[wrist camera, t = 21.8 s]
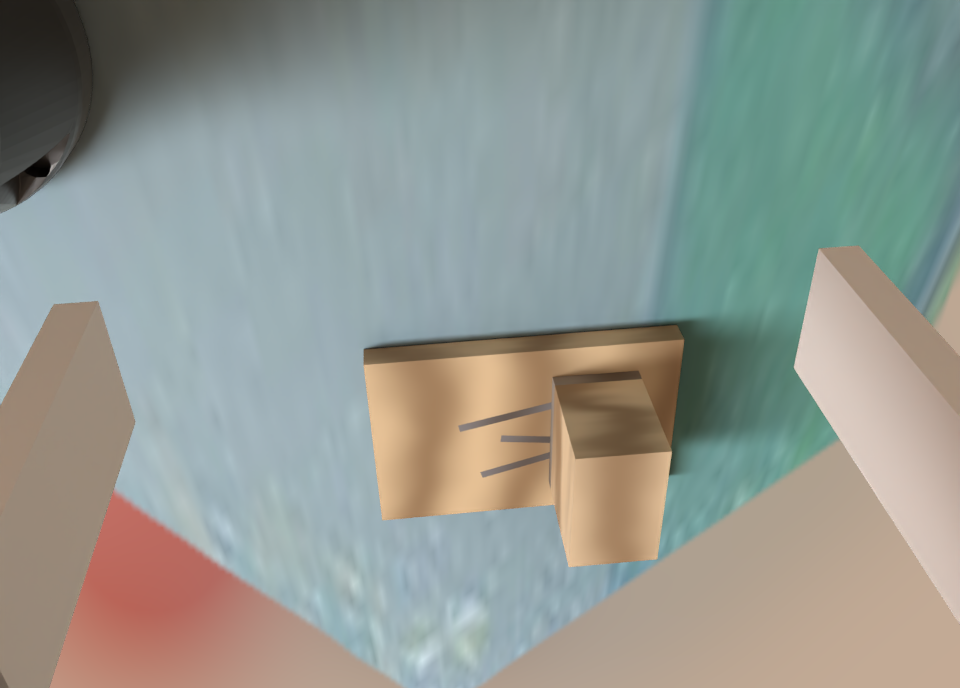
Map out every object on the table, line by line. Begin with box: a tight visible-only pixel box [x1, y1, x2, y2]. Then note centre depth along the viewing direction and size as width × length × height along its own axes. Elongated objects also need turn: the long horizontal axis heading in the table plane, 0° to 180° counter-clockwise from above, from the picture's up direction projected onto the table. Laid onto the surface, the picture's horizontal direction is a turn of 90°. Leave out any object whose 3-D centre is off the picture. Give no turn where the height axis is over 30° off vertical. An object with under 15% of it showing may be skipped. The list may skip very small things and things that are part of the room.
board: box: [364, 325, 684, 520], centre depth 55 cm, size 18×12×2 cm, turn 91°
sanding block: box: [549, 371, 672, 567], centre depth 52 cm, size 5×8×7 cm, turn 1°
